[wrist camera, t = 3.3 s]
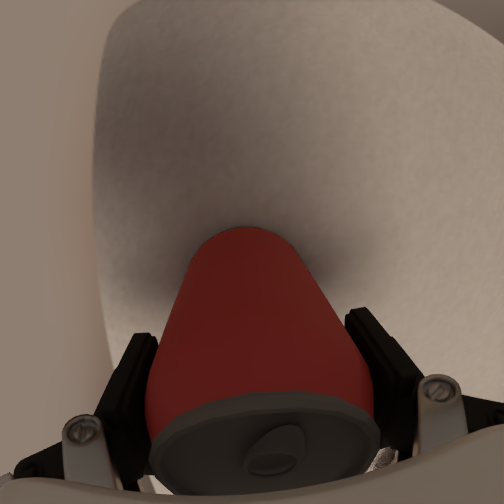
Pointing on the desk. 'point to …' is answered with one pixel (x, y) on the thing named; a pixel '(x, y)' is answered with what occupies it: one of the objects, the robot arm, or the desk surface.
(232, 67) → the desk surface
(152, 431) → the beer can
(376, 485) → the robot arm
